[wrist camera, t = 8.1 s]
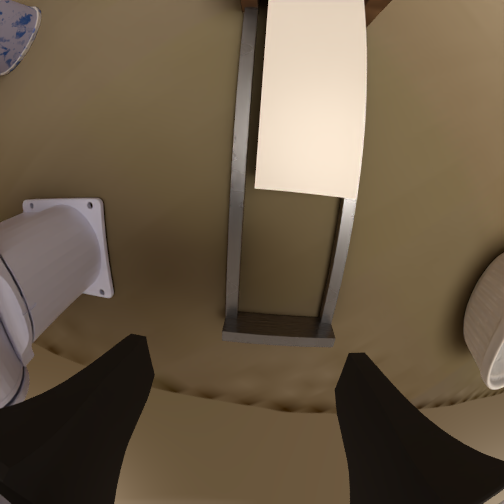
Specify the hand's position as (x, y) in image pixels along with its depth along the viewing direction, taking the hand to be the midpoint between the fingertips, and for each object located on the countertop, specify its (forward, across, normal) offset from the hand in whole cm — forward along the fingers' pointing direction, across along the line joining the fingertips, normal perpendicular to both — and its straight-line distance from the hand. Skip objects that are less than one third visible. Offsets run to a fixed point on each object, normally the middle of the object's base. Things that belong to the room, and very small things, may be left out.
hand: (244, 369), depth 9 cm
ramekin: (+10, -25, +2) cm, 27 cm away
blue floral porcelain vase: (+10, +25, -21) cm, 34 cm away
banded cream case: (+10, -2, -12) cm, 16 cm away
